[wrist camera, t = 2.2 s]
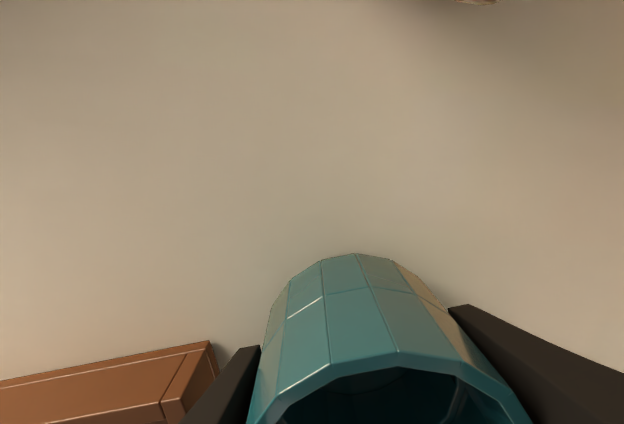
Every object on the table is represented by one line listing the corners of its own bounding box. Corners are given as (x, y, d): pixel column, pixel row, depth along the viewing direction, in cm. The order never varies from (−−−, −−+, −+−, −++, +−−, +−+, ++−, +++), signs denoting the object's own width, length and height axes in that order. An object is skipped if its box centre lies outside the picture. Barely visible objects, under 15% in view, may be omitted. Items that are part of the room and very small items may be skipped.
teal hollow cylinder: (442, 380, 11) (548, 568, 6) (289, 409, 11) (276, 612, 6) (422, 234, 10) (536, 324, 5) (251, 268, 10) (198, 388, 5)
